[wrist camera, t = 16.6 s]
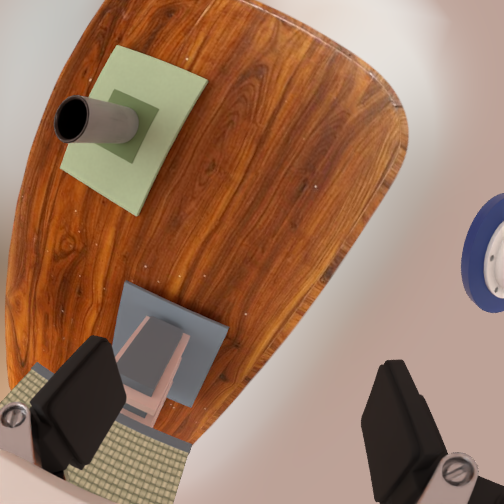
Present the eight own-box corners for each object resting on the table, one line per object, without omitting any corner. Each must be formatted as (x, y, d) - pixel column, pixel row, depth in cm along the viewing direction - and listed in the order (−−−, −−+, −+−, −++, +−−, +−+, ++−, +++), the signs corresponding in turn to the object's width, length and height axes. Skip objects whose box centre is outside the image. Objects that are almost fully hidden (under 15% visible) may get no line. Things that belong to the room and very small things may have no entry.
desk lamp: (193, 399, 43) (132, 582, 12) (114, 363, 43) (12, 518, 12) (233, 313, 37) (154, 587, 6) (134, 269, 37) (-53, 457, 6)
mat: (118, 46, 28) (116, 44, 27) (208, 81, 29) (207, 79, 28) (62, 167, 34) (59, 168, 33) (138, 215, 35) (136, 216, 34)
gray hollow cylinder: (122, 151, 32) (69, 153, 22) (101, 128, 31) (46, 125, 21) (146, 122, 30) (97, 112, 21) (123, 99, 30) (72, 86, 20)
